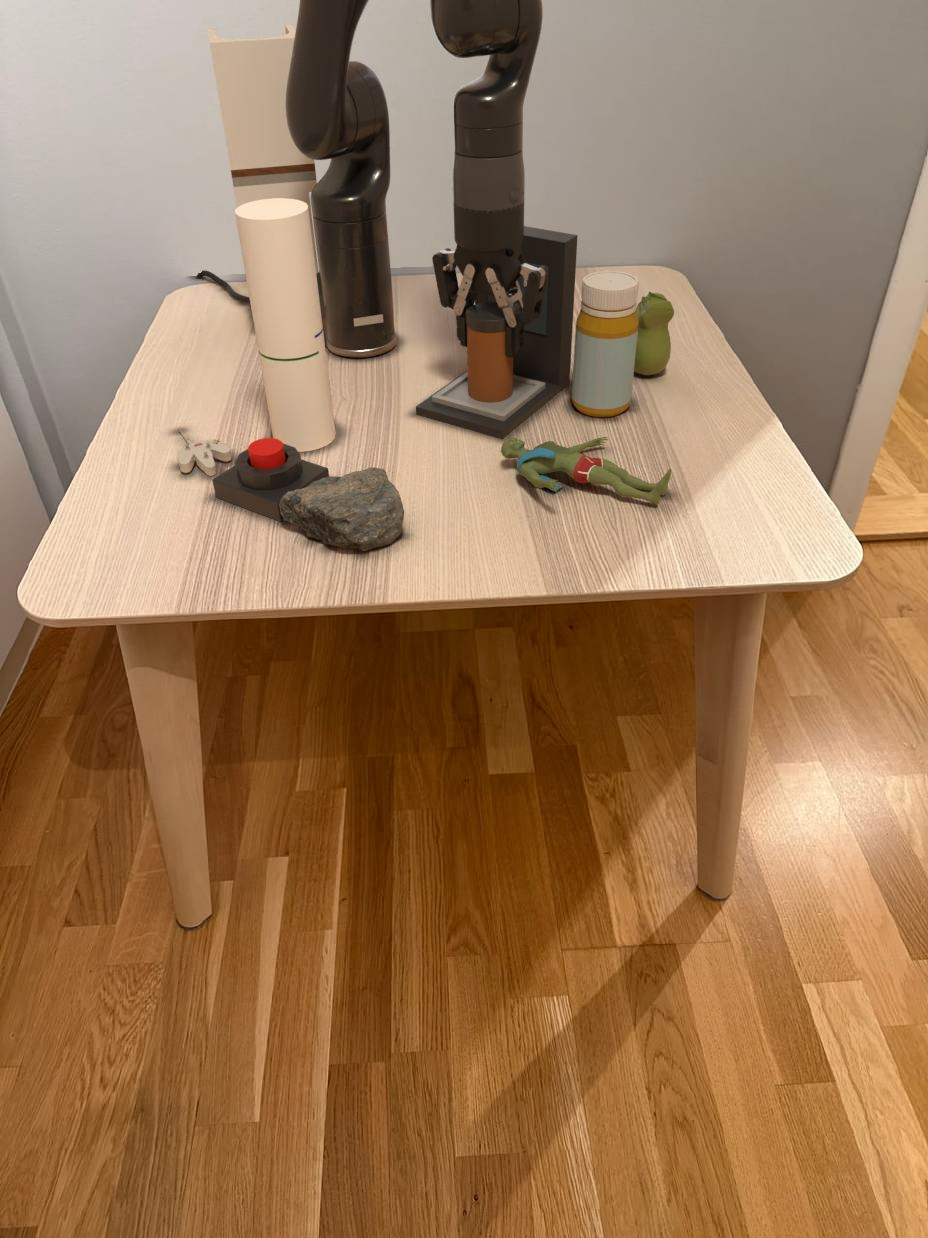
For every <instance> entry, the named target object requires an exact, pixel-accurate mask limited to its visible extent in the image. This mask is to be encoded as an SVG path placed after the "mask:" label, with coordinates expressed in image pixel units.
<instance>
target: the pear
mask: <svg viewBox="0 0 928 1238" xmlns="http://www.w3.org/2000/svg"><path fill="white" fill-rule="evenodd" d="M636 314H637V317H638V321H639V323H638V336H637V345H636V355H635V365H634V373H636V374H638V375H642V376H651V375H652V376H653V375H656V374H658V373H660V372H661V371H663V370H664V369H665V368H666V367H667V365H668V364H669V361H670V358H671V351H672V346H671V345H672V341H671V335H670V331H669V323H670V322H671V320H672V319H673V318H674V316H675V309H674V306H673V304H672V302H671V301H670V300H668V299H667V297H666V296H665V295H664V294H663V293H658V292H651V291H649V292H648V293H647V295H646V296H641V301H640V302H638V303H637V306H636Z"/></svg>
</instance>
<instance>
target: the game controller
mask: <svg viewBox="0 0 928 1238" xmlns="http://www.w3.org/2000/svg"><path fill="white" fill-rule="evenodd" d="M177 432H178V433H180V432H181V434H182V436H183V438H184V440H186V441H190V442H191V443H188V442H186V443H185V444H184V445H183V446H182V447H180V448H179V449H178V450H177V451H176V459H177V463H178V466H179V469H180V472H182V473H185V474H187V473H190V472H191V471H192V470H193V467H194V465H195V462H196V465H197V466H198V467H199V469H200V470H201V471H203V473H205V475H207V476H208V477H213V476H215V475H216V474H217V469H216V462H215V459H216V460H219V461H222V462H229V461H232V452H231V448H230V446H229V445H228V444H226V442H225V441H223V440H221V439H218V438H209V439H204V440H199V441H194V442H193V440H192V439H191V438H190V437H186V435H185V434H184V432H183V430H182V429H181V428H177Z"/></svg>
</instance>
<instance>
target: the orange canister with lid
mask: <svg viewBox="0 0 928 1238" xmlns="http://www.w3.org/2000/svg"><path fill="white" fill-rule="evenodd" d="M466 325H467V347H466V351H467V352H466V357H467V360H466V362H467V370H468V394H469V396H470V397H471V398H473V399H474V400H477V401H481V402H499V401H503V400H506V399H508V398H509V397H510V396H511V395H512V393H513V358H511V357H507V356H506V326H508V324H507V321H506V318H505V315H504V313H503V310H502V309H501V308H499V306H498V304H497V302H484V303H478V304H475V303H474V305H472V306H470V307H469V308H467V310H466Z"/></svg>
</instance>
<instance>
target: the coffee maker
mask: <svg viewBox="0 0 928 1238" xmlns="http://www.w3.org/2000/svg"><path fill="white" fill-rule="evenodd" d="M577 251H578V234H574V233H567V232H561V231H555V230H549V229H544V228H537V227H532V226H527V225H524V240H523V245H522V253H523V256H524V258H525V261H526V263H527V264H529V265H532V266H534V267H537V268H539V267H541V266H543V265H544V266H546V267H547V268H548V270H549V274H548V280H547V285H546V290H545V295H544V300H543V305H542V311H541V315H540V316H539V317H538V318H537V319H535V320H534V321H532V322H531V323H530V324H528V325H525V329H524V347H523V349H522V350H521V351H520V352H519V354H517V355H516V356H515V357H513V393H512V395H511V396H510V397H509V398H508V399H506V400H503V401H499V402H481V401H477V400H474V399H473V398H471V397H470V396H469V394H468V369H467V370H466V371H465V372H463V373H462V374H460V375H459V376H457V377H456V378H454V379H453V380H451V381H450V382H449V383H448V384H447V383H446V385H445V386H443V387H441V388H440V389H438V391H436V392H434V393H433V394H432V395H430V396H428V398H426V399H424V400H423V401H422V402H420V403H419V404H417V405H416V406H415V415H418V416H421V417H425V418H428V419H432V420H435V421H439V422H443V423H446V424H448V425H454V426H455V427H456V426H457V427H460V428H463V429H467V430H470V431H474V432H478V433H480V434H485V435H488V436H492V437H495V438H499V439H503V440H504V438H505V437H507V436H508V435H509V434H510V433H511V432H512V431H514V430H515V429H517V427H519V426H520V425H521V424H522V423H523V422H525V421H526V420H527V419H528V418H530V417H531V416H532V415H533V414H534V413H536V411H538V410H539V409H541V408H542V407H543V406H544V405H545V404H546V403H548V402H549V401H550V400H552V399H553V398H554V397H555V396H556V395H557V394H559V393H560V392H561V391H562V390H563V389H565V388H566V387H567V386H569V384H570V383H571V366H572V365H571V362H572V345H573V327H574V325H573V324H574V308H575V289H576V271H577V254H578V253H577ZM517 280H518V283H519V285H520V288H521V291H522V302H523V303H524V298H525V292H526V287H525V286H524V285H523V283H524V278H523V276H522V275H520V277H519V278H518V279H517ZM506 294H507V296H508V295H509V291H508V292H506ZM484 302H497V301H496V298H495V297H493V296H490V295H488V294H486V293H480V294H479V293H478V295H477V297H476V300H475V302H474V305H475V304H478V303H484Z"/></svg>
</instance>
